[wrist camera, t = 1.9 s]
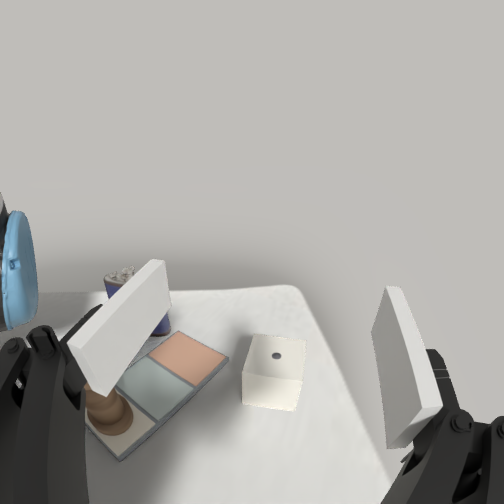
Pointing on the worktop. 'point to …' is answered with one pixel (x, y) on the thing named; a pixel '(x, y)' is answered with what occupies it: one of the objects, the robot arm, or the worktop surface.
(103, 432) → the pawn
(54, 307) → the worktop surface
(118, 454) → the board
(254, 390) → the white die
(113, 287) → the flask
